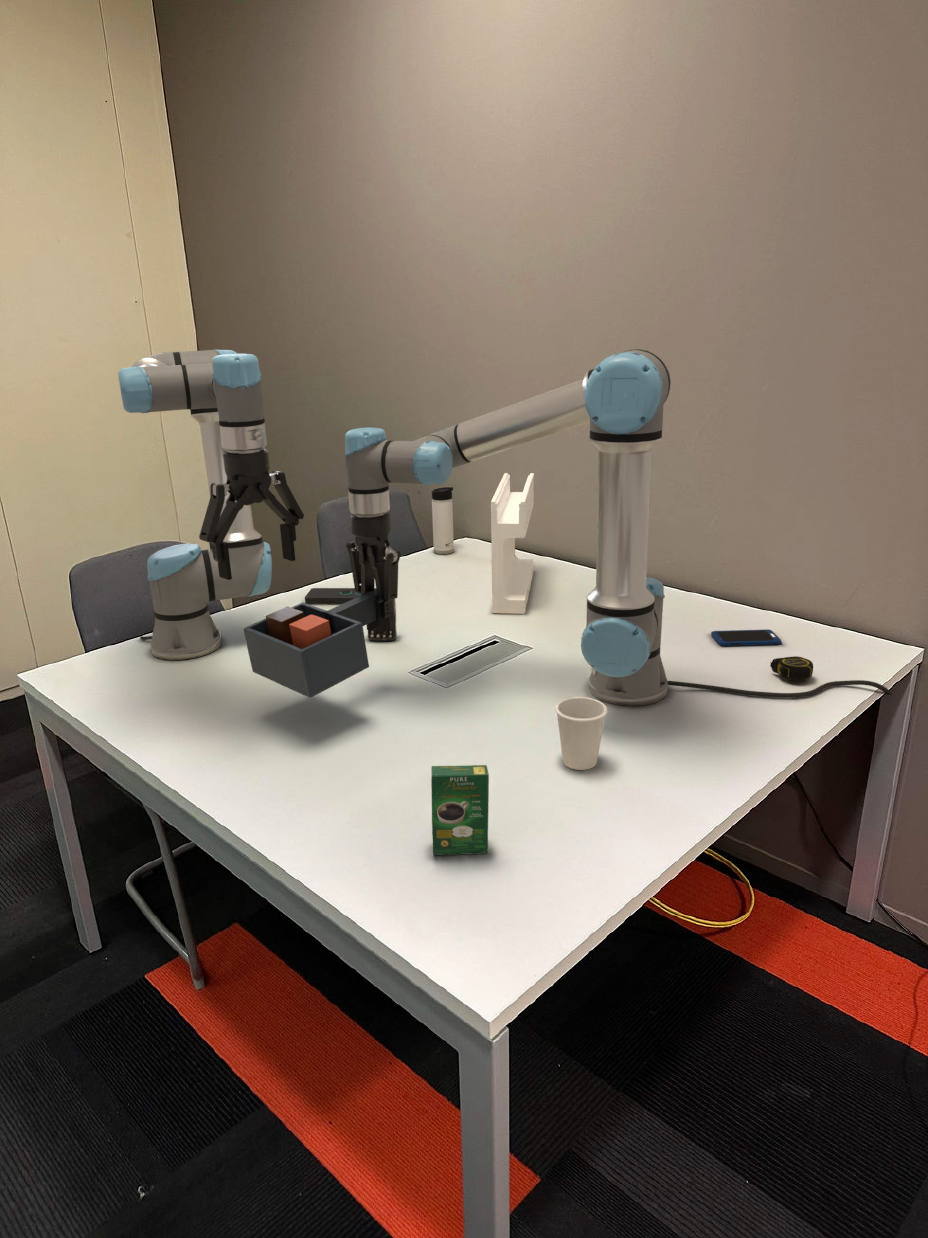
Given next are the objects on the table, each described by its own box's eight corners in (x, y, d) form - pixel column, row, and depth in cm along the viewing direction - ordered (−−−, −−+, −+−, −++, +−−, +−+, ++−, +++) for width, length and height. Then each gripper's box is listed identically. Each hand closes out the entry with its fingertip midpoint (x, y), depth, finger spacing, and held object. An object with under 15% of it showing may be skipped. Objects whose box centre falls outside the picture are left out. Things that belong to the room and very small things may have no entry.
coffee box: (488, 842, 122) (487, 762, 118) (490, 854, 120) (488, 773, 115) (432, 844, 122) (429, 764, 117) (432, 857, 119) (429, 775, 115)
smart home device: (380, 597, 219) (304, 597, 221) (380, 604, 220) (304, 603, 221) (385, 587, 227) (311, 587, 228) (386, 593, 227) (312, 593, 229)
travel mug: (452, 554, 260) (450, 489, 253) (431, 553, 262) (429, 489, 254) (456, 549, 266) (455, 485, 259) (436, 548, 267) (434, 485, 260)
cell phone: (782, 644, 188) (782, 641, 188) (719, 646, 188) (719, 643, 188) (770, 632, 195) (771, 629, 195) (710, 633, 195) (710, 630, 195)
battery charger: (365, 642, 195) (362, 595, 191) (368, 636, 199) (365, 589, 195) (395, 642, 195) (392, 595, 191) (398, 636, 198) (395, 589, 194)
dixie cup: (592, 779, 138) (594, 723, 134) (546, 766, 142) (546, 712, 138) (612, 756, 144) (615, 703, 141) (567, 744, 148) (569, 692, 145)
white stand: (505, 570, 244) (504, 473, 234) (533, 571, 243) (533, 473, 233) (492, 612, 211) (490, 501, 202) (524, 613, 210) (524, 501, 200)
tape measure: (799, 669, 175) (801, 652, 174) (818, 683, 169) (820, 665, 168) (769, 672, 174) (770, 655, 173) (786, 686, 168) (788, 669, 167)
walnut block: (291, 671, 156) (281, 621, 151) (275, 664, 159) (265, 615, 155) (313, 660, 159) (303, 611, 155) (297, 654, 162) (287, 606, 158)
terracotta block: (315, 681, 151) (306, 630, 147) (298, 674, 154) (288, 624, 150) (337, 670, 154) (328, 620, 150) (320, 663, 157) (311, 614, 153)
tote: (310, 698, 147) (301, 651, 144) (252, 671, 159) (242, 628, 155) (422, 638, 165) (417, 596, 161) (363, 618, 176) (357, 578, 172)
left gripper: (191, 463, 134) (209, 591, 142) (317, 441, 151) (326, 555, 159) (166, 458, 139) (184, 581, 146) (291, 436, 156) (301, 548, 164)
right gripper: (413, 514, 157) (419, 633, 165) (358, 503, 167) (367, 616, 175) (382, 522, 152) (390, 645, 160) (328, 511, 162) (338, 626, 170)
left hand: (258, 568), depth 153 cm, fingers open, 13 cm apart
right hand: (378, 629), depth 168 cm, fingers closed on tote, 2 cm apart
